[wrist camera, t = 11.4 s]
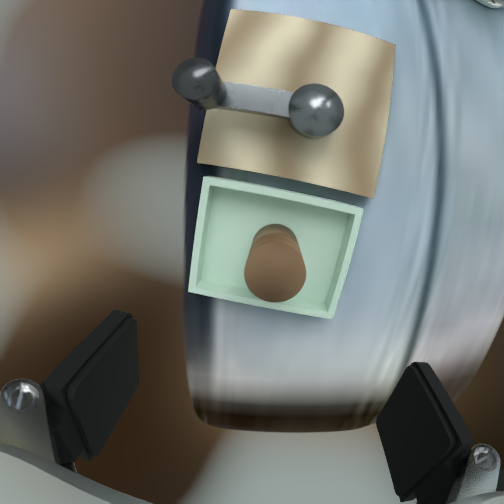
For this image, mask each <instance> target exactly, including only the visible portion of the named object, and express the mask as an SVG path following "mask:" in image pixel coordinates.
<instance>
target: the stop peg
mask: <svg viewBox="0 0 504 504" xmlns="http://www.w3.org/2000/svg"><path fill="white" fill-rule="evenodd" d="M244 278H245V282H246V285H247V287H248V288H249V290H250V291H251V292H252V293H253V294H254V295H255V296H256V297H258V298H259V299H261V300H264V301H267V302H272V303H278V302H284V301H287V300H289V299H291V298H293V297H294V296H295V295H297V294H298V293H299V292H300V290H301V289H302V287H303V285H304V283H305V280H306V267H305V263H304V260H303V257H302V253H301V250H300V247H299V244H298V241H297V238H296V236H295V234H294V233H293V231H292V230H291V229H289V228H288V227H286V226H284V225H281V224H269V225H266V226H264V227H262V228H261V229H260V230H259V231H258V232H257V233H256V234H255V236H254V238H253V241H252V245H251V248H250V251H249V255H248V258H247V261H246V264H245V268H244Z"/></svg>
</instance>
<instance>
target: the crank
mask: <svg viewBox="0 0 504 504" xmlns="http://www.w3.org/2000/svg"><path fill="white" fill-rule="evenodd" d="M172 85H173V88H174V90H175V91H176V92H177V93H178V94H179V95H181V96H182V97H183V98H185V99H186V100H187V101H189V102H190V103H191V104H193V105H194V106H195V107H197V108H199V109H202V110H210V109H222V110H230V111H238V112H245V113H251V114H258V115H264V116H269V117H275V118H280V119H286V120H288V122H289V124H290V126H291V128H292V129H293V130H294V131H295V132H296V133H297V134H298V135H300V136H301V137H304V138H307V139H321V138H323V137H325V136H327V135H329V134H330V133H332V132H333V131H335V130H336V129H337V128H338V127H339V126H340V124H341V123H342V120H343V117H344V106H343V103H342V100H341V99H340V97H339V96H338V94H337V93H336V92H335V91H334V90H332V89H331V88H329V87H327V86H325V85H322V84H316V83H312V84H306V85H303V86H301V87H300V88H298V89H297V90H296V91H295V92H290V91H284V90H279V89H273V88H267V87H261V86H254V85H247V84H239V83H230V82H223V81H222V79H221V77H220V76H219V74H218V72H217V71H216V69H215V68H214V66H213V65H212V63H211V62H209V61H208V60H206V59H203V58H191V59H188V60H186V61H184V62H182V63H181V64H180V65H179V66H178V67H177V68H176V69H175V71H174V73H173V76H172Z"/></svg>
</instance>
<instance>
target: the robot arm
mask: <svg viewBox="0 0 504 504" xmlns="http://www.w3.org/2000/svg"><path fill="white" fill-rule="evenodd" d="M476 1H478V2H480V3H481V4H483V5H485V6H488V7H490V8H500V7H502V6H503V5H504V0H476ZM138 384H139V368H138V349H137V322H136V320H135V319H133V318H132V315H131V314H130V313H126V312H122V311H119V310H114V311H112V312H111V313H110V315H108V316H107V317H106V318H105V319H104V320H103V321H102V322H101V323H100V324H99V325H98V326H97V327H96V328H95V329H94V330H93V331H92V332H91V333H90V334H89V335H88V336H87V337H86V338H85V339H84V340H83V341H82V342H80V343H79V345H77V346H76V347H75V348H74V350H72V351H71V352H70V354H69V355H68V356H67V357H66V358H65V359H64V360H63V361H62V362H61V363H60V364H59V365H58V366H57V367H56V368H55V369H54V370H53V371H52V373H50V374H49V376H48V377H47V378H46V379H45V380H44V381H43V382H42V383H41V384H40V385H38V384H36V383H35V382H34V381H31V380H28V379H17V380H13V381H11V382H9V383H8V384H6V385H5V386H4V387H3V389H2V391H1V393H0V504H153V503H150V502H146V501H143V500H141V499H137V498H135V497H132V496H129V495H126V494H124V493H121V492H118V491H116V490H113V489H111V488H108V487H106V486H103V485H101V484H99V483H97V482H94V481H92V480H90V479H88V478H86V477H83V476H81V475H79V474H77V472H76V468H75V465H74V462H75V461H76V460H77V458H78V456H79V457H81V458H83V459H85V460H87V461H90V460H91V458H92V457H93V455H94V456H98V455H99V454H100V452H101V450H102V448H103V447H104V445H105V443H106V441H107V439H108V438H109V436H110V434H111V432H112V431H113V429H114V427H115V425H116V424H117V422H118V420H119V418H120V417H121V415H122V413H123V411H124V410H125V408H126V406H127V404H128V402H129V401H130V399H131V398H132V396H133V394H134V392H135V391H136V389H137V387H138ZM376 425H377V429H378V432H379V435H380V439H381V442H382V446H383V448H384V452H385V456H386V459H387V463H388V467H389V470H390V474H391V478H392V481H393V485H394V489H395V493H396V494H397V495H398V496H399V498H400V502H405V501H410V500H413V499H415V498H416V499H417V503H416V504H504V471H503V470H501V469H500V458H499V456H498V454H497V452H496V451H495V450H494V449H493V448H492V447H490V446H488V445H485V444H478V445H476V446H474V447H473V448H472V449H470V447H469V446H470V445H471V444H472V443H473V442H474V439H473V437H472V435H471V433H470V431H469V430H468V428H467V426H466V424H465V423H464V421H463V419H462V417H461V415H460V414H459V412H458V410H457V409H456V407H455V405H454V403H453V402H452V400H451V398H450V397H449V395H448V393H447V392H446V390H445V389H444V387H443V385H442V384H441V382H440V381H439V379H438V377H437V376H436V374H435V373H434V371H433V370H432V368H431V366H430V365H429V364H428V363H425V362H413V363H412V364H411V365H410V366H408V367H407V368H406V369H405V371H404V373H403V375H402V377H401V379H400V380H399V382H398V384H397V386H396V387H395V389H394V391H393V393H392V394H391V396H390V398H389V399H388V401H387V403H386V404H385V406H384V407H383V409H382V411H381V412H380V414H379V415H378V417H377V421H376Z"/></svg>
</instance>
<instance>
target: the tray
mask: <svg viewBox="0 0 504 504" xmlns="http://www.w3.org/2000/svg"><path fill="white" fill-rule="evenodd" d="M363 210H364V209H362V208H360V207H358V206H356V205H353V204H348V203H344V202H340V201H336V200H332V199H327V198H323V197H319V196H314V195H310V194H305V193H300V192H296V191H291V190H286V189H281V188H276V187H271V186H266V185H261V184H255V183H250V182H244V181H239V180H233V179H227V178H221V177H215V176H204V177H203V183H202V189H201V196H200V202H199V209H198V216H197V223H196V231H195V238H194V246H193V254H192V262H191V271H190V280H189V289H188V292H192V293H196V294H201V295H205V296H210V297H215V298H219V299H224V300H229V301H234V302H239V303H244V304H249V305H254V306H259V307H264V308H270V309H275V310H281V311H286V312H292V313H297V314H303V315H309V316H315V317H321V318H327V319H333V316H334V313H335V310H336V307H337V304H338V301H339V298H340V294H341V291H342V288H343V285H344V281H345V278H346V275H347V271H348V268H349V264H350V261H351V257H352V254H353V250H354V246H355V242H356V239H357V235H358V231H359V227H360V223H361V219H362V214H363ZM269 224H281V225H284V226H286V227H288V228H289V229H291V230H292V231H293V233H294V234H295V236H296V238H297V241H298V244H299V247H300V250H301V253H302V257H303V260H304V263H305V267H306V280H305V283H304V285H303V287H302V289H301V290H300V292H299V293H298V294H297V295H295V296H294V297H293V298H291V299H289V300H287V301H284V302H278V303H272V302H267V301H264V300H261V299H259V298H258V297H256V296H255V295H254V294H253V293H252V292H251V291H250V290H249V288H248V287H247V285H246V282H245V278H244V268H245V264H246V261H247V258H248V255H249V251H250V248H251V245H252V241H253V238H254V236H255V234H256V233H257V232H258V231H259V230H260V229H261V228H262V227H264V226H266V225H269Z"/></svg>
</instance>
